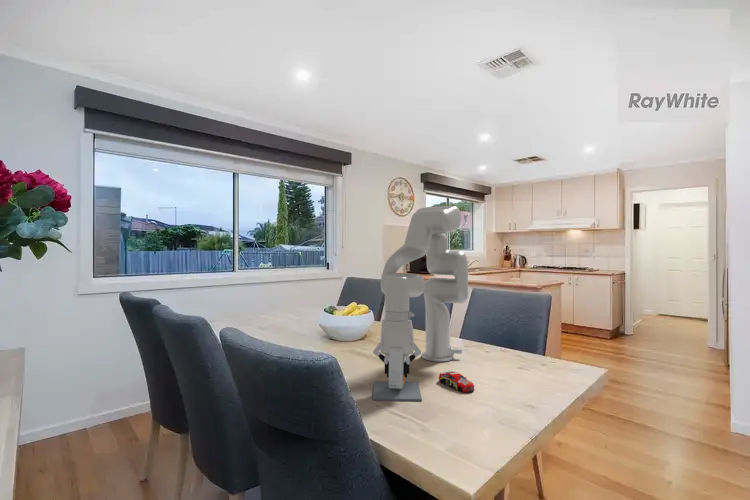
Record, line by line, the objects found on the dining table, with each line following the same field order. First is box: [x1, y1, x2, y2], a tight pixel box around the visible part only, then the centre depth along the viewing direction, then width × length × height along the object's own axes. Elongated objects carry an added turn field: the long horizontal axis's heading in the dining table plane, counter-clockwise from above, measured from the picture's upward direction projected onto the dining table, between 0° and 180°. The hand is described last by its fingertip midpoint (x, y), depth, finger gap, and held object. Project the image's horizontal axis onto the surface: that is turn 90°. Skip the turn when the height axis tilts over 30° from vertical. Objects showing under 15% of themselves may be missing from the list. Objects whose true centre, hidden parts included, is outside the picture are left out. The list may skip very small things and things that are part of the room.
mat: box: [372, 380, 423, 402], centre depth 116 cm, size 14×14×1 cm
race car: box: [438, 371, 475, 393], centre depth 121 cm, size 13×5×4 cm, turn 30°
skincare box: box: [388, 348, 406, 389], centre depth 116 cm, size 6×4×12 cm
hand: (396, 375), depth 116 cm, fingers closed on skincare box, 4 cm apart
